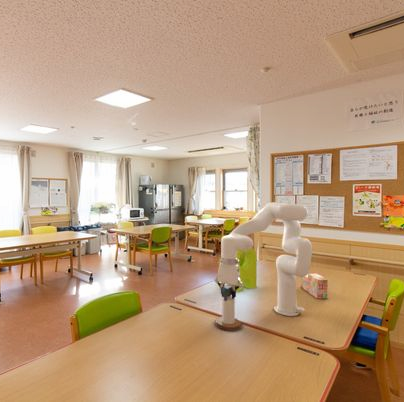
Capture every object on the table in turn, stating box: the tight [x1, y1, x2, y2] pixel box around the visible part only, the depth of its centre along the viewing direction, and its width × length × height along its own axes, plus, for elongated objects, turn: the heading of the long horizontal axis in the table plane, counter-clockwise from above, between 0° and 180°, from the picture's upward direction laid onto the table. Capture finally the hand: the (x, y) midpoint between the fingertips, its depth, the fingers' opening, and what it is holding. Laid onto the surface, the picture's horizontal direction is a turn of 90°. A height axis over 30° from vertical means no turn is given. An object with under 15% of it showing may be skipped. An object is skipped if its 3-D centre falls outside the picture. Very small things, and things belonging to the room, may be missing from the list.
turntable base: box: [214, 319, 243, 332], centre depth 146 cm, size 13×13×1 cm
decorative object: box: [227, 247, 258, 293], centre depth 199 cm, size 20×7×30 cm, turn 118°
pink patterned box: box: [300, 273, 329, 300], centre depth 190 cm, size 21×6×12 cm, turn 179°
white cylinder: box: [216, 284, 241, 329], centre depth 145 cm, size 12×12×19 cm
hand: (228, 296), depth 145 cm, fingers open, 4 cm apart
